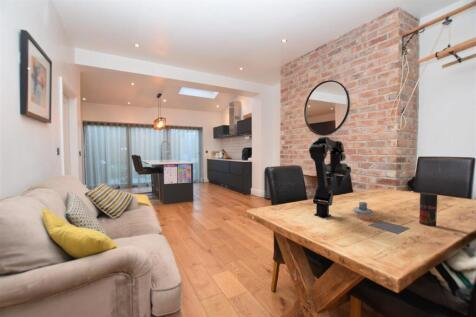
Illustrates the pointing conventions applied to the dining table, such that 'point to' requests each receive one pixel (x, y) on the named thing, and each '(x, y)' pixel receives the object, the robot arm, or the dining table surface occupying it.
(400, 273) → the dining table surface
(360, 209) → the lid
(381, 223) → the mat
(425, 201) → the deodorant
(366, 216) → the pink block
